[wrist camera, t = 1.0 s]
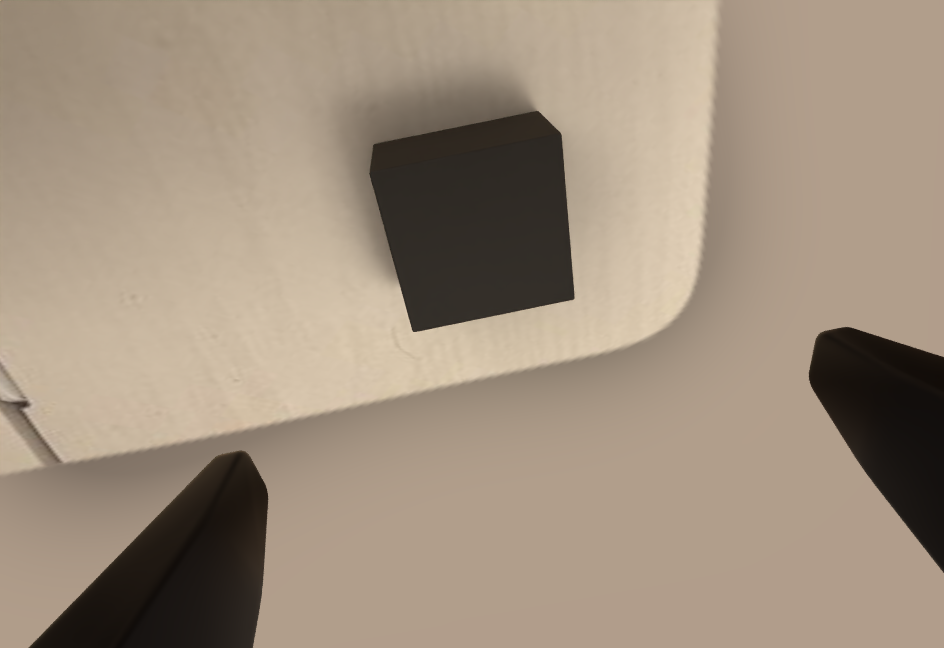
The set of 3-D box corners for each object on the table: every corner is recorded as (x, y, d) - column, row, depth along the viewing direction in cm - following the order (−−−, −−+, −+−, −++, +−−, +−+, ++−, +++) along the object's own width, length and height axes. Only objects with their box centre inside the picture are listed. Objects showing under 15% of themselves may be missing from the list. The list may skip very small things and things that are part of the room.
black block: (411, 289, 17) (412, 333, 15) (372, 144, 15) (368, 171, 13) (553, 260, 17) (575, 300, 15) (538, 110, 15) (561, 132, 13)
